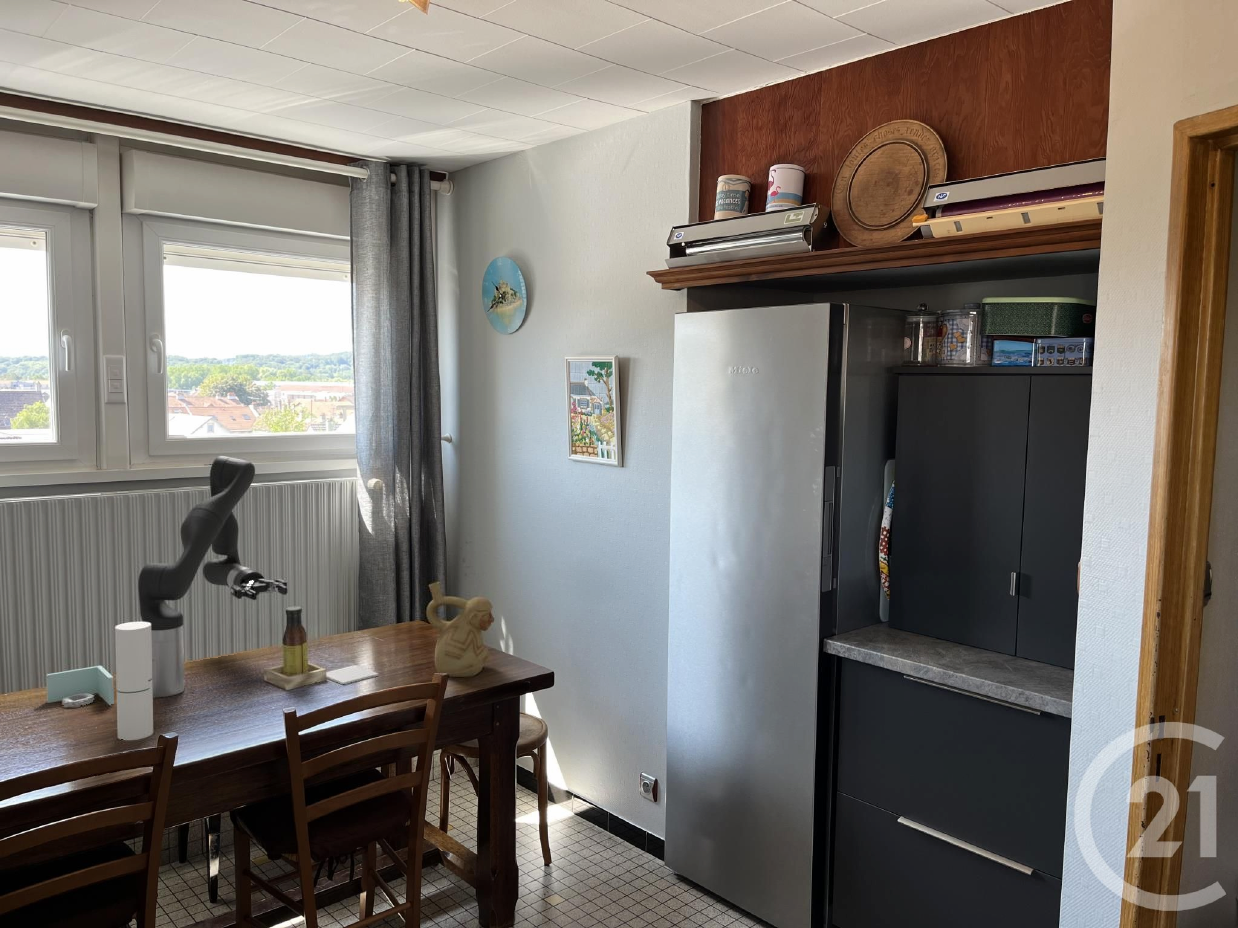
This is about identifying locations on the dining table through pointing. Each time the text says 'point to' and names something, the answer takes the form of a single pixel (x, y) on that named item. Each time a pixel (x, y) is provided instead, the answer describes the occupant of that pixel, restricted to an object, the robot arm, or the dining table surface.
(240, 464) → the robot arm
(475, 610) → the ceramic vessel
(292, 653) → the sauce bottle
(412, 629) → the dining table surface
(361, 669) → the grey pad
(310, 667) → the wood collar
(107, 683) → the l-shaped corner panel
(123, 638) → the cylindrical container
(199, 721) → the dining table surface
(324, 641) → the dining table surface
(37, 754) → the dining table surface
